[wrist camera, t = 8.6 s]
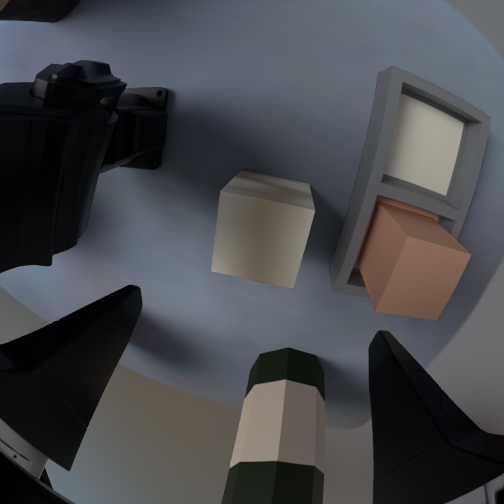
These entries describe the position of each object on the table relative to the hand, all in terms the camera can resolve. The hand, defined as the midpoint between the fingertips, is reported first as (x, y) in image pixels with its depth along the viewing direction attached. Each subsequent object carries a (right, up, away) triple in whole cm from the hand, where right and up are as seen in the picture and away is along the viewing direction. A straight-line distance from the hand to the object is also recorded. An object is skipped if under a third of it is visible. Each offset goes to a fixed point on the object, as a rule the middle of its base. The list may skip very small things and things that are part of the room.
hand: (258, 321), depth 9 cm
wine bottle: (+4, -11, +19) cm, 23 cm away
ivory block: (+1, +6, +11) cm, 12 cm away
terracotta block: (+11, +3, +9) cm, 14 cm away
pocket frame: (+11, +7, +8) cm, 16 cm away
